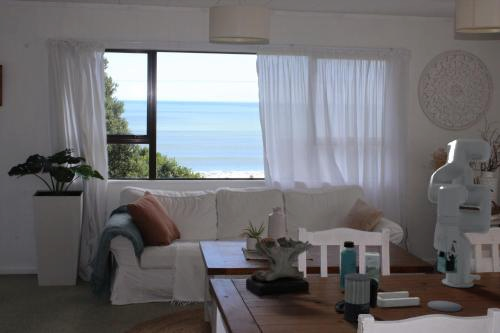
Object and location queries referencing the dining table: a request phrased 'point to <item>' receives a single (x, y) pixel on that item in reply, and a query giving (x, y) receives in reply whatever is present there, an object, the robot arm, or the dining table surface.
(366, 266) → the syrup box
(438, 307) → the pad
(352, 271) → the beverage bottle
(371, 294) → the milk frother
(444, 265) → the teal block
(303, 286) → the coral
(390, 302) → the white tray
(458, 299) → the dining table surface
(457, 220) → the robot arm
